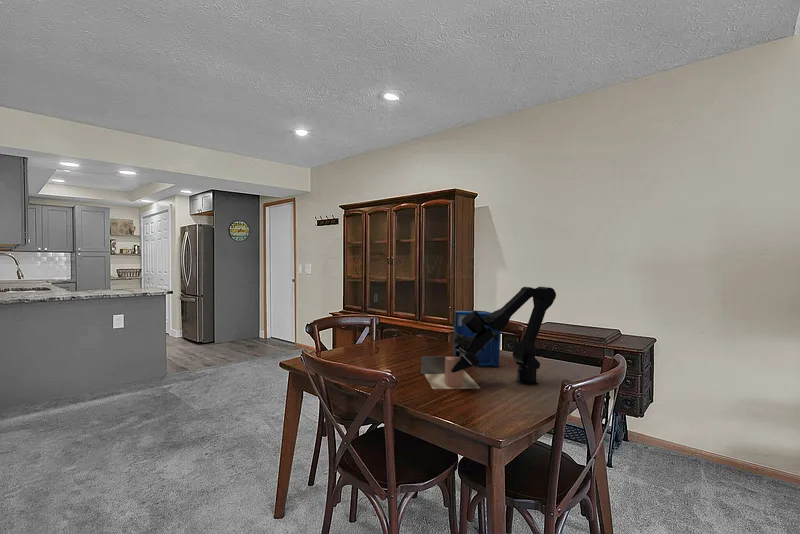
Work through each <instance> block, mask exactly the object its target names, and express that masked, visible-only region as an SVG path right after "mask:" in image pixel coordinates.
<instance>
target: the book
mask: <svg viewBox="0 0 800 534" xmlns="http://www.w3.org/2000/svg"><path fill="white" fill-rule="evenodd" d="M473 311H477V312H478V313H479V315H480V316H481V317H482V318H486V317H487V316H488V315H489V314H491V313H492V312H490V311H486V310H473V309H455V310H454V329H453V335H454V334H455V333H457V334H459V335H462V334H463V335H465V336H467V339H468V338H469V337H473V336H474V335H475V334H476V333H472V332H471V331H470V330H469V329H468V328H467V327H466V326H465V325H464V324H463V323H462V320H463V318H464V317H465V316H467V315H468V314H469V313H472V312H473ZM484 326H485V327H486V328H488V327H487V326H486V325H484ZM491 330H492V331H493V332H494V333H495V332H496V333H497V334H498V341H496V340H494V339H492V340H491V341H490V342H489V343H488V344H487V345H486V346H485V347H484V350H483V351H482V350H481V351H480V352H479V353H478V354H477V355H476V358H477V359H478V360H479V361H480V364H479V365H478V366H477V368H485V367H499V365H500V353H501V352H500V349H501V331H497V330H494V329H491ZM455 344H456V343H455V342H453V347H452V357H454V355H455V350H454V349H456V348H455V347H454V345H455ZM471 365H472V366H474V365H473V364H471Z"/></svg>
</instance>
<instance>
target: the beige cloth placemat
mask: <svg viewBox="0 0 800 534" xmlns="http://www.w3.org/2000/svg"><path fill="white" fill-rule="evenodd" d="M424 376H425V378H426V380H427V382H428V383H429V385H430V387H431V388H432V389H433V390H454V389H455V390H456V389H457V390H458V389H459V390H462V389H463V390H465V389H466V390H467V389H469V390H470V389H481V387H480V386H479V385H478V383H477V382H476V381H475V380H474V379H473V378H472V377H471V376H470V375H469V374H468V372H466V371H465V370H464V372H463V386H457V387H447V385H446V384H445V374H424Z"/></svg>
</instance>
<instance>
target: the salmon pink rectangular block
mask: <svg viewBox="0 0 800 534" xmlns="http://www.w3.org/2000/svg"><path fill="white" fill-rule="evenodd" d="M459 359H460V357H453V356H450V357H445V384H446V385H447V387H457V386H463V372H464V371H465V369H463V370H460V371H457V372H454V373H453V372H452V371H451V370H452V369H453V367H454V366H455V365H456V363H457V362H458V361H459Z"/></svg>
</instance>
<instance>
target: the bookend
mask: <svg viewBox="0 0 800 534" xmlns="http://www.w3.org/2000/svg"><path fill="white" fill-rule="evenodd" d="M445 357H451V356H450V355H449V356H445V355H444V356H442V355H441V356H440V355H439V356H421V370H420V373H421V374H422V375H425V374H445Z"/></svg>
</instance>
